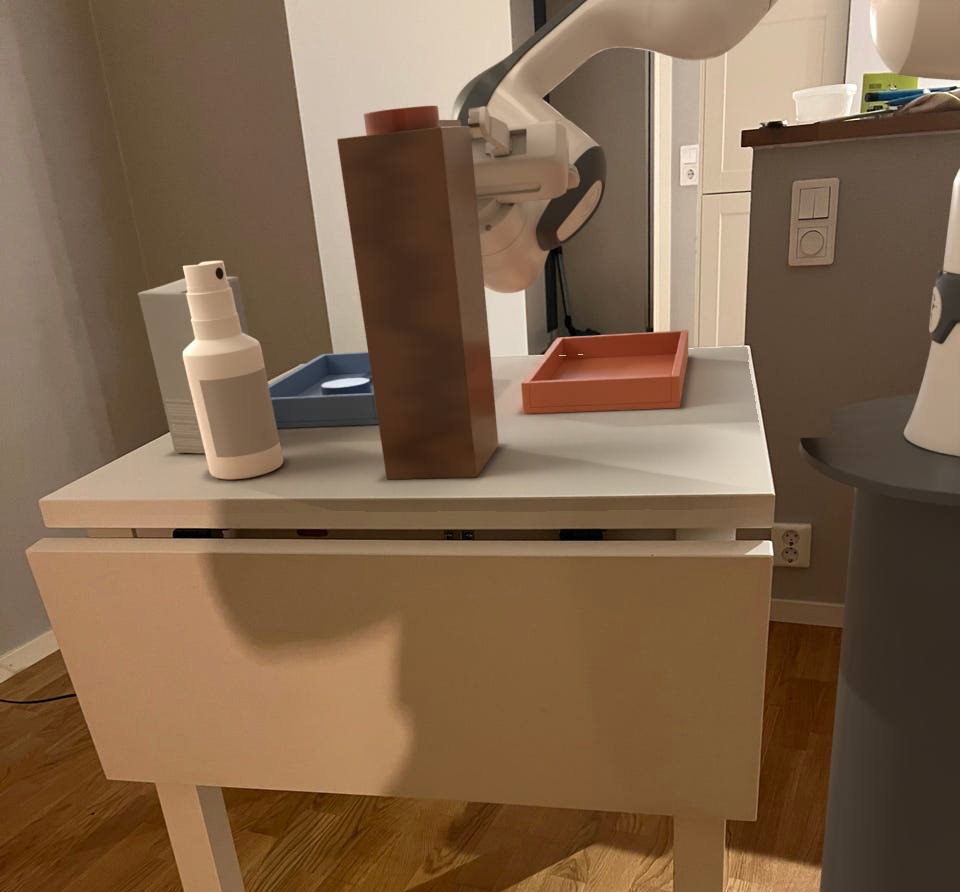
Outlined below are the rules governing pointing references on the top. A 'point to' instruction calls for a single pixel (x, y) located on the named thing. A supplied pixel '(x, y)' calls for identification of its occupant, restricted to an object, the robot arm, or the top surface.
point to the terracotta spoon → (405, 120)
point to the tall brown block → (422, 298)
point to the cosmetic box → (177, 355)
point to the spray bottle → (228, 381)
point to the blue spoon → (348, 386)
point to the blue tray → (306, 405)
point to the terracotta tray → (608, 373)
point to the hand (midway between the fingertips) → (438, 119)
